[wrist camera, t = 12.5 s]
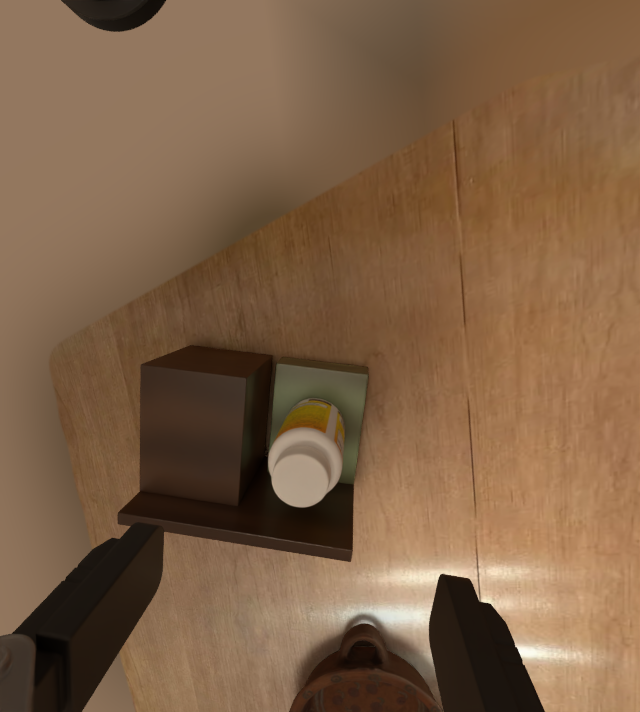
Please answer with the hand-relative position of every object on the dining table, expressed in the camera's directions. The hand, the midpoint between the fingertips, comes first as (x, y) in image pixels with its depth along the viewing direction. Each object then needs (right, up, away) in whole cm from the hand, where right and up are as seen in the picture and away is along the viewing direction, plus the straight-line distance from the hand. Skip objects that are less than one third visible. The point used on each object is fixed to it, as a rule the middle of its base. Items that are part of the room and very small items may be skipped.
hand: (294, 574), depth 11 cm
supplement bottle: (0, 0, +25) cm, 25 cm away
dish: (+6, -33, +34) cm, 48 cm away
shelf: (-4, 0, +28) cm, 28 cm away
